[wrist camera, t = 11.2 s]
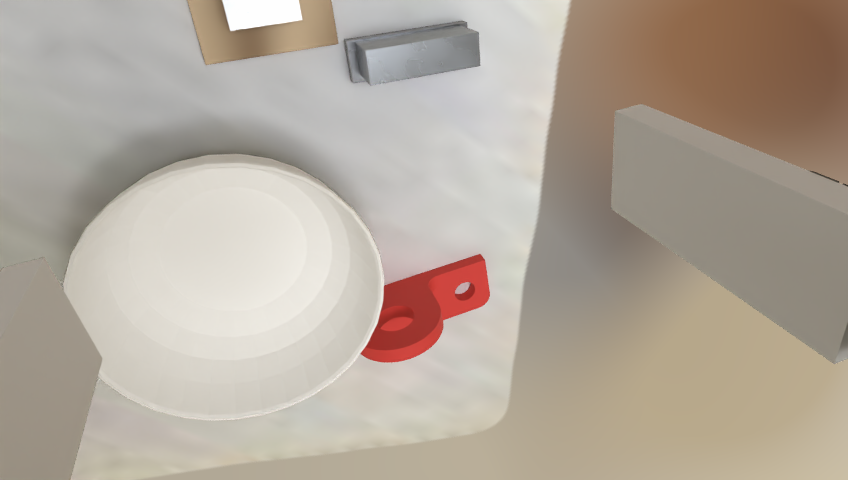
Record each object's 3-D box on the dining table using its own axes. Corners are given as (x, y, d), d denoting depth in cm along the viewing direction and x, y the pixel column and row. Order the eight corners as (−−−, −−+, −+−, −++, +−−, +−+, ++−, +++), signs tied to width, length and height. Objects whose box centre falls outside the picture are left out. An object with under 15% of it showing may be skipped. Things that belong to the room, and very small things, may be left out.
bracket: (353, 342, 47) (375, 409, 40) (339, 299, 45) (360, 363, 38) (486, 296, 49) (527, 352, 42) (479, 253, 47) (521, 305, 40)
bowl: (394, 161, 41) (424, 201, 35) (324, 363, 47) (339, 426, 41) (109, 88, 33) (83, 122, 27) (72, 340, 40) (45, 414, 33)
